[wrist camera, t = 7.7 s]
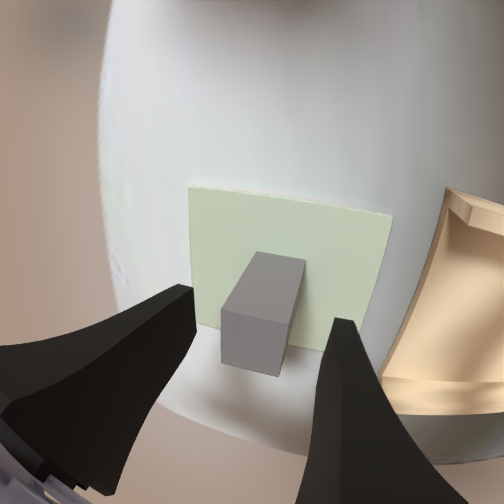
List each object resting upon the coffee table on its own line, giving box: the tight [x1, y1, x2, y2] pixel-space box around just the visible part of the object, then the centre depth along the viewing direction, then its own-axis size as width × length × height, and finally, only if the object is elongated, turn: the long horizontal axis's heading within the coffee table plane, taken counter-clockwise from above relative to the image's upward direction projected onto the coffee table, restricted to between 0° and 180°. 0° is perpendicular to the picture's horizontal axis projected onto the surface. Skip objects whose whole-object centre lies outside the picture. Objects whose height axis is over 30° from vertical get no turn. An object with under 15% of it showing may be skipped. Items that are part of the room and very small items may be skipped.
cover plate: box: [188, 185, 393, 377], centre depth 11 cm, size 8×7×5 cm
